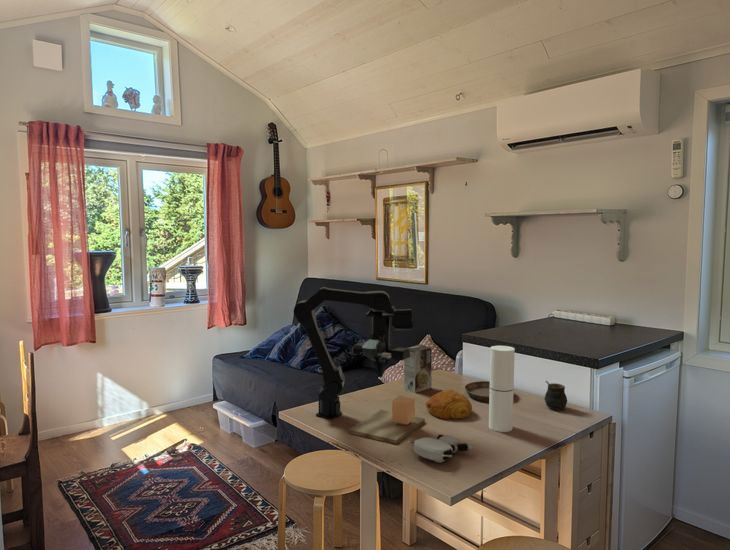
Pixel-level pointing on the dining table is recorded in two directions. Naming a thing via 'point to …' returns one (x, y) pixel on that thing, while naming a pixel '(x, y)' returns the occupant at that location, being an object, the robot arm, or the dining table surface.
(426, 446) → the robot toy
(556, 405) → the mate gourd
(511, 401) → the cylindrical container
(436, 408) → the croissant
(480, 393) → the plant saucer
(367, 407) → the dining table surface
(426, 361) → the coffee box
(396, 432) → the base board
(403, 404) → the orange rectangular block
